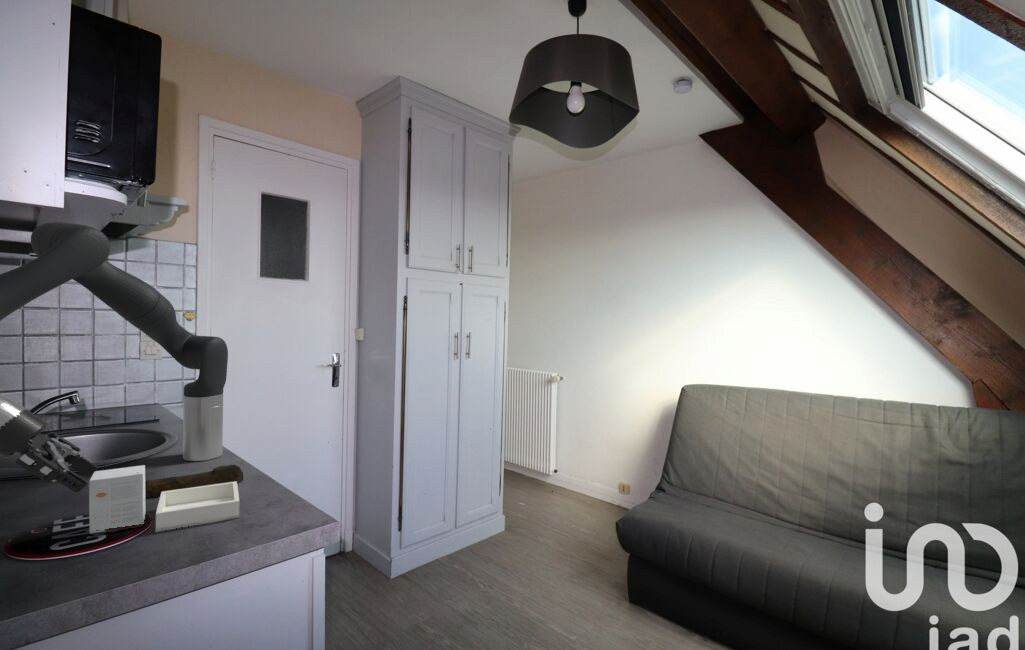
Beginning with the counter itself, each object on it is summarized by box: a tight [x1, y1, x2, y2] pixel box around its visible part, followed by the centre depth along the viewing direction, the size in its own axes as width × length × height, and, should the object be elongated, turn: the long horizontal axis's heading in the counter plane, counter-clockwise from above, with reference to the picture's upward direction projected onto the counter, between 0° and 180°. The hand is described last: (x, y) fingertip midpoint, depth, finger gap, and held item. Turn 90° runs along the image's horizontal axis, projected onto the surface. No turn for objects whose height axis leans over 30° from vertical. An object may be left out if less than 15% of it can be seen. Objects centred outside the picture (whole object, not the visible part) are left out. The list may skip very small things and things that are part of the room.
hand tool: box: [145, 464, 244, 499], centre depth 112 cm, size 19×4×5 cm, turn 123°
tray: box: [155, 481, 240, 533], centre depth 100 cm, size 12×14×4 cm
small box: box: [88, 464, 147, 532], centre depth 93 cm, size 8×6×10 cm
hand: (88, 479), depth 90 cm, fingers open, 8 cm apart
